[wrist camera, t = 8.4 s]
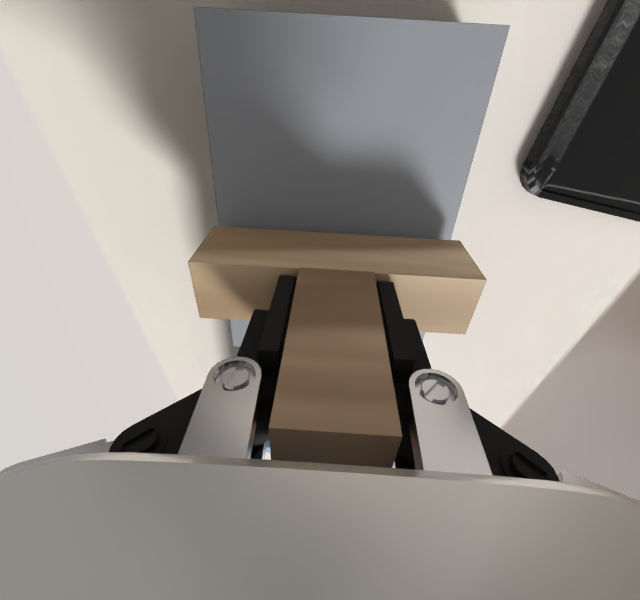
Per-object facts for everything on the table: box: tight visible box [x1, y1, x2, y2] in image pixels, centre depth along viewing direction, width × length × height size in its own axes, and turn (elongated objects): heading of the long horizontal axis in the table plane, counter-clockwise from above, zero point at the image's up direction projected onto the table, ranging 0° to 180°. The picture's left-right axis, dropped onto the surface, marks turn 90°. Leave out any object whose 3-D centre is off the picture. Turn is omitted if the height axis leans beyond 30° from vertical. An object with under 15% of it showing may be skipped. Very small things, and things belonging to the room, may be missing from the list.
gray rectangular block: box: [194, 7, 510, 347], centre depth 16 cm, size 14×10×4 cm
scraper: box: [188, 226, 486, 468], centre depth 11 cm, size 2×10×9 cm, turn 87°
